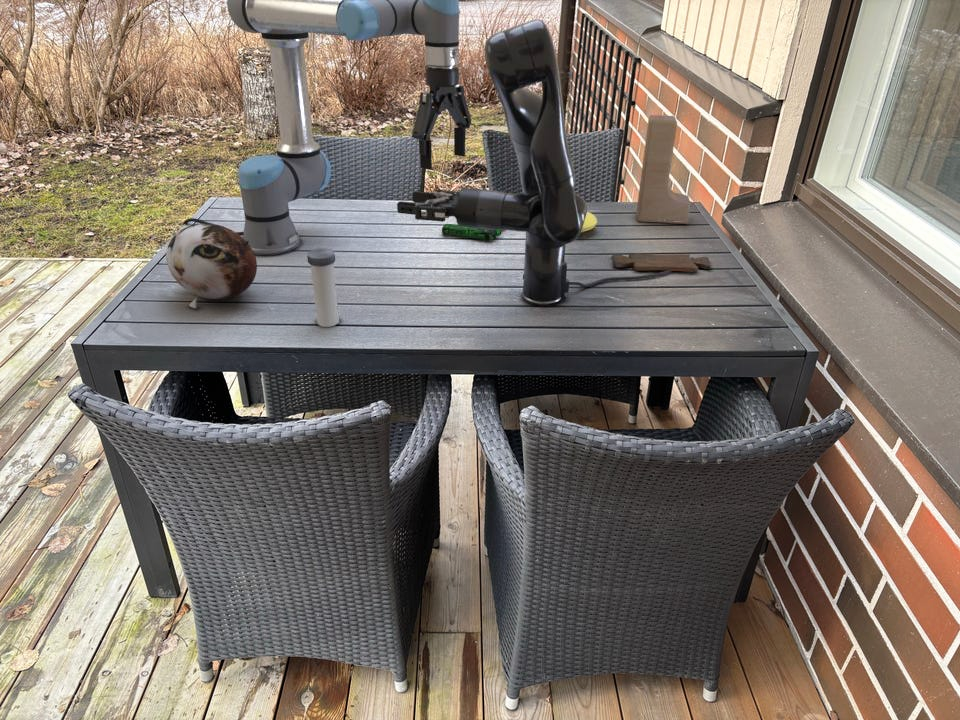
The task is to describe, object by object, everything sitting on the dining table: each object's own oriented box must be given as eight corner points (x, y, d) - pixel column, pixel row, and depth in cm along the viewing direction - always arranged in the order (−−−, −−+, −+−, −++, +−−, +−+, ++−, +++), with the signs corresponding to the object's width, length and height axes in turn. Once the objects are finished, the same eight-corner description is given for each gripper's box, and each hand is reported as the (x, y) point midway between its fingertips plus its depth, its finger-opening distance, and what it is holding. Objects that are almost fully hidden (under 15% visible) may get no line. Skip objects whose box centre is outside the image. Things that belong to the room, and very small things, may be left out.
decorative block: (687, 224, 215) (705, 122, 200) (637, 221, 217) (650, 120, 202) (685, 216, 222) (701, 116, 206) (636, 213, 223) (648, 114, 208)
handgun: (511, 219, 210) (493, 234, 198) (511, 228, 211) (492, 244, 199) (461, 212, 215) (440, 226, 203) (461, 221, 217) (440, 236, 204)
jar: (322, 328, 156) (314, 261, 148) (314, 320, 159) (306, 253, 151) (342, 323, 158) (336, 256, 150) (334, 315, 162) (327, 249, 153)
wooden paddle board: (715, 274, 184) (705, 259, 193) (716, 268, 183) (706, 253, 192) (615, 271, 185) (610, 256, 193) (615, 265, 184) (610, 250, 192)
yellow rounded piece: (559, 216, 220) (561, 193, 217) (605, 227, 212) (608, 204, 209) (532, 230, 209) (533, 207, 206) (580, 242, 201) (582, 218, 198)
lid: (313, 268, 148) (312, 260, 147) (304, 259, 152) (303, 251, 151) (339, 263, 151) (338, 255, 150) (329, 254, 155) (328, 246, 154)
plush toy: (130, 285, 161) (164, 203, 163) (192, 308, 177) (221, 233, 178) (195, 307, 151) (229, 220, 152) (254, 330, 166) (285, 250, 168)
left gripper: (421, 75, 148) (424, 176, 159) (486, 61, 166) (485, 153, 177) (393, 71, 151) (397, 171, 162) (460, 58, 169) (460, 148, 180)
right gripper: (493, 182, 144) (417, 175, 148) (473, 199, 132) (391, 191, 136) (492, 218, 148) (418, 211, 152) (472, 238, 136) (393, 229, 139)
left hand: (443, 161), depth 169 cm, fingers open, 13 cm apart
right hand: (405, 201), depth 144 cm, fingers open, 8 cm apart
